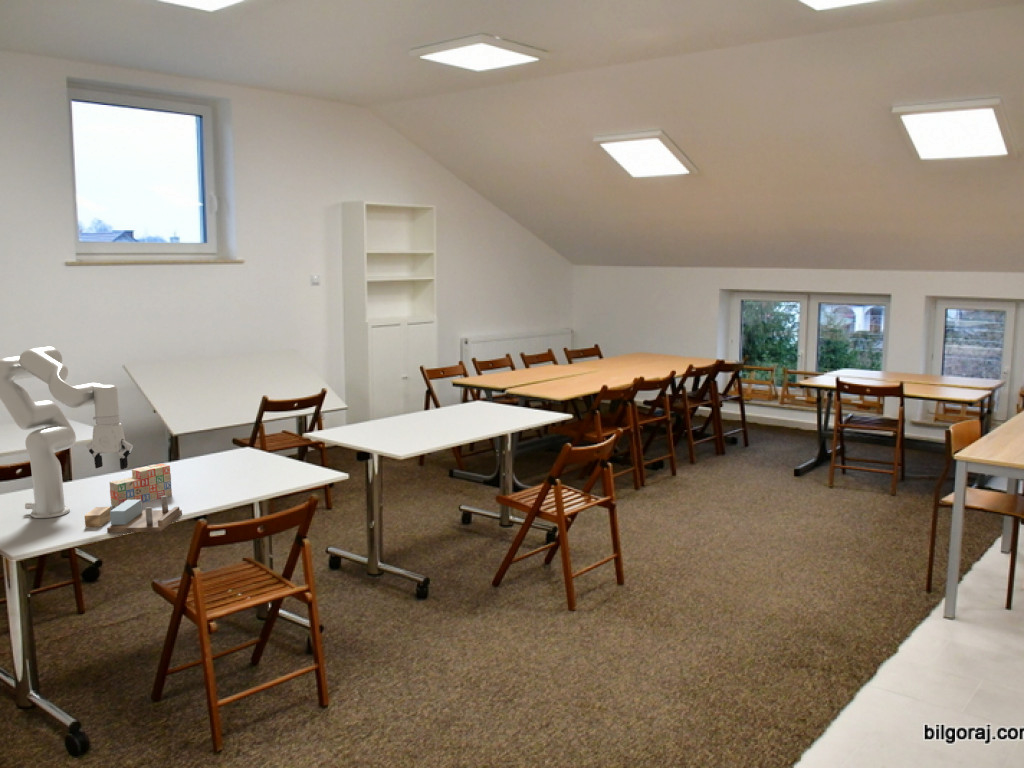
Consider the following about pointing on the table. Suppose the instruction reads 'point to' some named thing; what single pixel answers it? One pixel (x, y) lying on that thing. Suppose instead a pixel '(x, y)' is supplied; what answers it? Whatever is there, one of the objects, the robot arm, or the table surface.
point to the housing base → (142, 522)
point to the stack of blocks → (142, 485)
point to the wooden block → (97, 517)
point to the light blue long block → (125, 512)
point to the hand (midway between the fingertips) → (111, 467)
